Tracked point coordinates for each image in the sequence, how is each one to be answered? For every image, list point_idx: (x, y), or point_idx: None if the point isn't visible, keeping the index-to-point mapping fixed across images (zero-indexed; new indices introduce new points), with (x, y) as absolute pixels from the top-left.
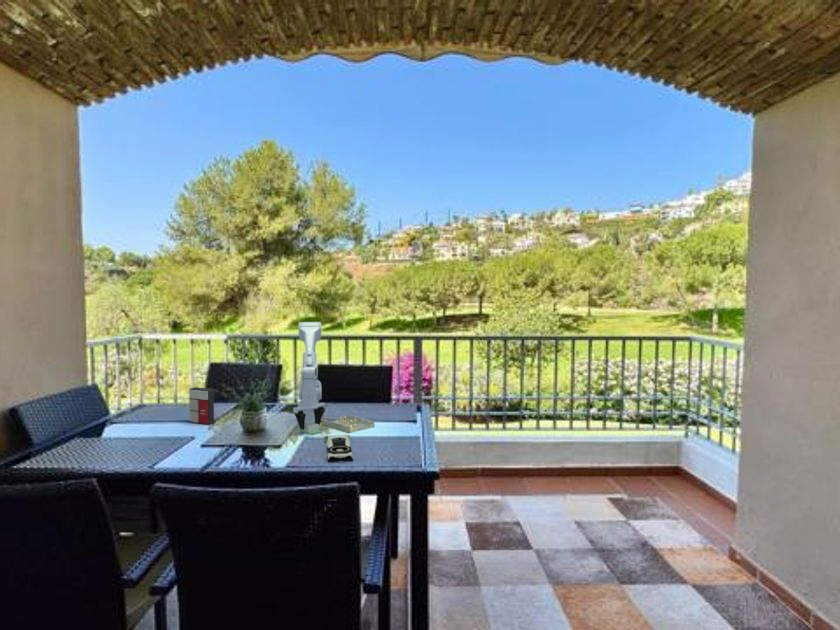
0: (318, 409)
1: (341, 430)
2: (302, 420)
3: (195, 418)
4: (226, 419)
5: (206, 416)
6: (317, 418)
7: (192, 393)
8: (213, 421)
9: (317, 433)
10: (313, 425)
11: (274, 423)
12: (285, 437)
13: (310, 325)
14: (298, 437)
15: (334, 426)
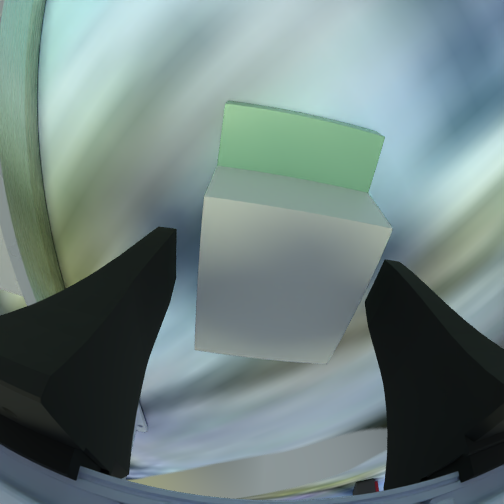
0: (81, 449)
1: (40, 17)
2: (474, 332)
3: None
4: (308, 488)
5: None
6: (141, 315)
7: None
8: (359, 485)
9: (294, 113)
10: (311, 213)
11: (259, 447)
12: (494, 271)
13: None
14: (480, 193)
15: (23, 139)
